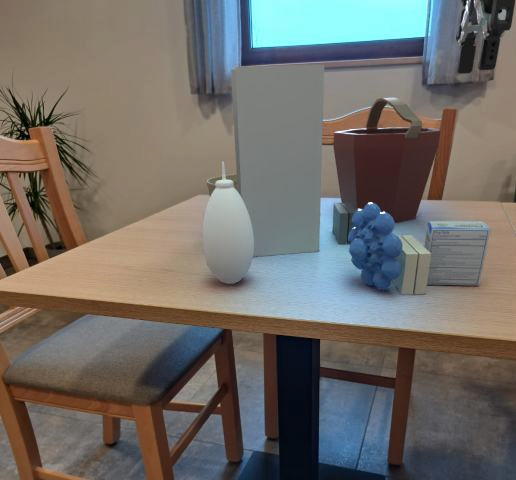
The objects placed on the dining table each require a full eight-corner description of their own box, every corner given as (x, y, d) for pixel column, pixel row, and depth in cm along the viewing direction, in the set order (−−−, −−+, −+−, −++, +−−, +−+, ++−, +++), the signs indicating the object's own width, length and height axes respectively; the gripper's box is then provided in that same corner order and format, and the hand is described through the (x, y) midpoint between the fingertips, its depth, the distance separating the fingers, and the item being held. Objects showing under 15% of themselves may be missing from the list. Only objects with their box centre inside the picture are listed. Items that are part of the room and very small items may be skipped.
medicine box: (472, 277, 71) (483, 220, 67) (479, 287, 68) (491, 228, 64) (419, 275, 73) (427, 220, 69) (423, 285, 69) (431, 227, 65)
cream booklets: (407, 271, 75) (411, 234, 72) (425, 294, 66) (431, 253, 63) (386, 272, 75) (389, 235, 72) (401, 294, 66) (406, 254, 63)
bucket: (434, 228, 99) (453, 95, 87) (329, 227, 102) (334, 100, 90) (417, 205, 120) (431, 96, 108) (331, 205, 123) (335, 99, 112)
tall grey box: (311, 243, 91) (315, 67, 77) (319, 251, 86) (324, 64, 72) (240, 249, 89) (230, 69, 75) (244, 257, 85) (235, 67, 71)
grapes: (326, 278, 73) (328, 201, 67) (361, 272, 75) (367, 196, 70) (369, 304, 64) (377, 215, 58) (409, 295, 66) (419, 209, 60)
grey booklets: (348, 231, 99) (349, 202, 96) (355, 243, 90) (357, 212, 87) (332, 231, 99) (333, 202, 96) (338, 244, 90) (339, 213, 87)
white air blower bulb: (211, 274, 77) (201, 158, 69) (257, 274, 76) (253, 157, 68) (201, 291, 70) (189, 164, 62) (252, 291, 69) (247, 163, 61)
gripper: (553, -87, 56) (522, 68, 64) (501, -53, 69) (480, 73, 76) (490, -84, 56) (467, 70, 64) (450, -50, 69) (434, 75, 77)
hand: (474, 71), depth 70 cm, fingers open, 8 cm apart
